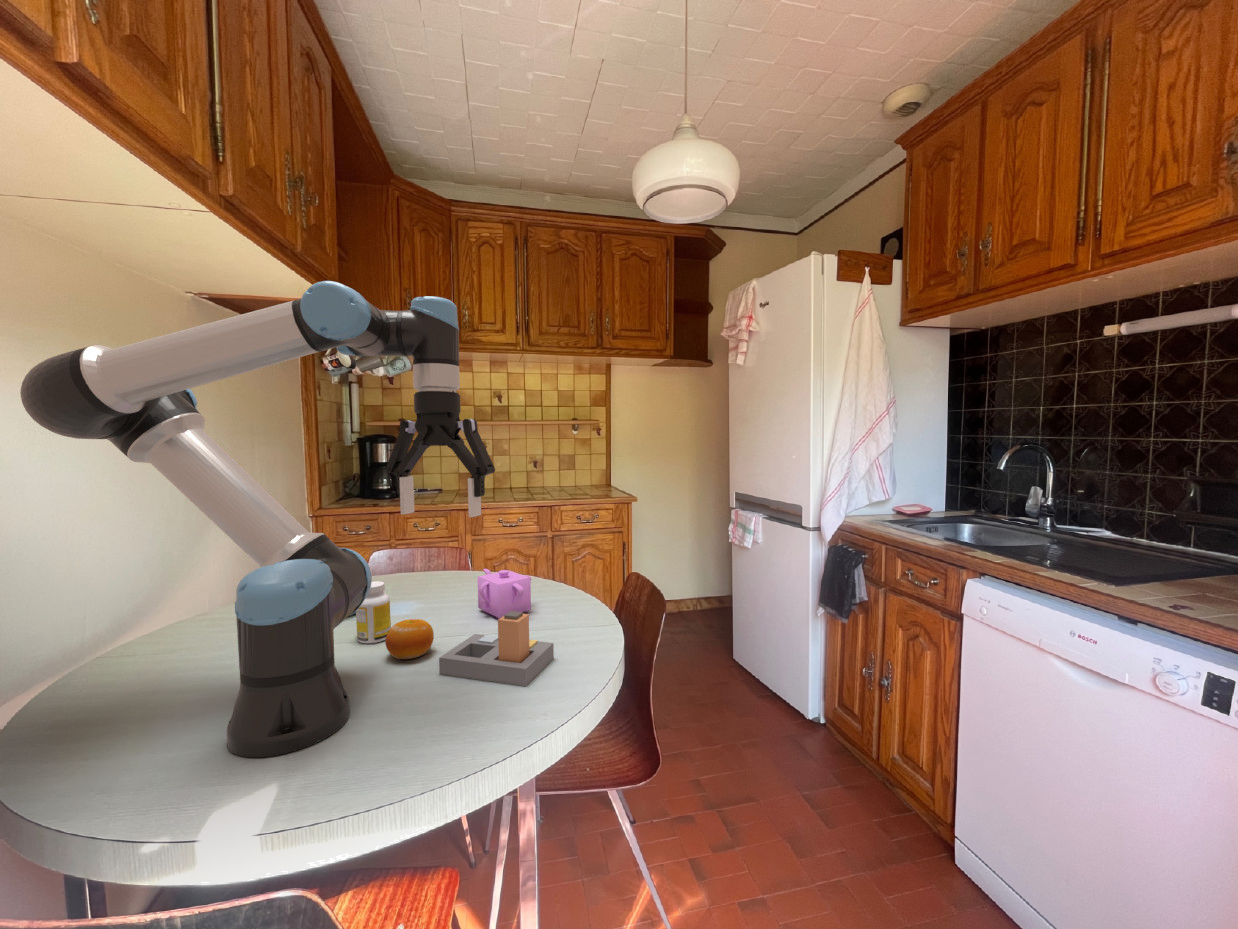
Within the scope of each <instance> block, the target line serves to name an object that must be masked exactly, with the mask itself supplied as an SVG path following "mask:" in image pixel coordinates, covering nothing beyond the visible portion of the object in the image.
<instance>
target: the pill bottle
mask: <svg viewBox="0 0 1238 929" xmlns="http://www.w3.org/2000/svg"><path fill="white" fill-rule="evenodd" d="M371 582H372V583H371V588H370V591H369V593H368V595H367V597H366V599H365V600H364V601H363V603H362V605H361V606H360V607H359V608H358V609H357V610H356V614H355V616H356V617H355V621H356V623H355V624H356V639H357V641H358V642H359V643H362V644H375V643H376V644H377V643H379V642H383V641H385V640H386V636H387V633H388V631H389V630H390V628H391V627H392V625H391V624H392V623H391V620H392V619H391V605H390V604H391V600H390V596H389V594H387V593H385V592H384V591H385V589H386V588H385V582H384V581H379V580H377V581H371Z"/></svg>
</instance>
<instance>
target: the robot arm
mask: <svg viewBox="0 0 1238 929" xmlns="http://www.w3.org/2000/svg"><path fill="white" fill-rule="evenodd" d="M335 348H336V350H337V352H338V353H340V354H342V355H343V356H355V357H360V358H366V357H412V384H413V385H412V386H413V389H414V390H417V392H415V393H414V394H413V405H414V407H413V409H414V410H413V411H414V413H415V415H416V419H415V421H414V420H407V419H401V421H400V422H399V433H398V435H397V438H396V441H395V443H394V445H393V448H392V451H391V454H390V456H389V459H388V461H387V464H386V467H385V472H386V473H387V474H392V475H394V476H395V478H396V479H395V480H396V493H397V495H398V496H399V502H400V503H399V505H400V506H399V507H400V515H407V514H412V513H415V490H414V488H415V487H414V486H415V485H414V475H412V473H411V472H412V471H413V469H414V468H415V466H416V465H417V464H418V462H419V461H420V459H421V457H422V456H423V454H424V453H425V452H426V450H428V448H430V447H434V446H435V447H436V446H437V447H443V446H444V447H448V448H449V449H450V450H451V451H452V452H453V453H454V454H455V455H456V457H457V458H458V459H459V461H460V462H461V464H462V465H463V467H465V469H466V470H467V471H468V472H469V474H470V475H471V476H470V477H469V478H467V498H468V502H467V503H468V504H467V506H468V518H475V517H479V516H481V515H482V497H484V496H485V494H486V489H485V488H486V487H485V485H486V484H485V478H486V476H488V475H491V474H494V473H495V472H496V468H495V465H494V463H493V461H492V458H491V457H490V455H489V452H488V450H487V448H486V446H485V444H484V442H483V439H482V438H481V435H480V433H479V429H478V428H479V427H478V421H477V420H476V419H474V418H473V419H472V418H464V419H463V420H460V419H461V418H460V414H461V410H462V409H461V395H460V393H459V392H457V391H459V390H460V389H461V386H460V384H461V382H460V376H461V375H460V327H459V320H458V308H457V305H456V304H455V303H454V302H453V301H452V300H450V299H449V298H448V299H447V298H445V297H440V296H435V295H434V296H432V295H431V296H429V295H428V296H427V295H426V296H425V295H424V296H417V297H414V298H413V299H412V300H411V302H410V307H409V310H406V309H405V310H385V309H380V308H378V307H377V306H375V305H374V304H372V303H371V302H369V301H368V300H366V299H365V297H364V296H363V295H362V294H360V292H358V291H356V290H355V289H354V288H351V287H349V286H347V285H345V284H343V283H340V282H337V281H332V280H323V281H318V282H316V283H313V284H312V285H310V287H308V289H307V290H305V292H304V293H303V294H302V297H300V298H297V299H295V300H290V301H286V302H283V303H279V304H276V305H272V306H268V307H265V308H261V309H257V310H254V311H250V312H245V313H242V314H238V315H235V316H231V317H227V318H223V319H220V320H216V321H212V322H208V323H204V324H201V325H197V326H193V327H190V328H186V329H182V330H179V331H174V332H170V333H167V334H164V335H160V336H156V337H152V338H149V339H145V340H141V341H138V342H133V343H130V344H126V345H122V346H119V347H115V348H111V347H108V346H106V345H99V344H94V345H91V346H85V347H83V348H79V349H75V350H71V351H67V352H63V353H61V354H57V355H55V356H51V357H49V358H46V359H44V360H43V361H40V362H39V363H37V364H36V365H35V366H33V367H32V368H30V370H29V371H28V372H27V374H26V375H25V376H24V377H23V381H22V382H21V386H20V391H19V392H20V399H21V404H22V406H23V408H24V410H25V411H26V413H27V414H28V415H29V416H30V418H31V419H32V420H33V421H34V422H36V423H37V424H38V425H39V426H40V427H42V428H44V429H46V430H48V431H49V432H51V433H54V434H56V435H59V436H62V437H66V438H71V439H79V440H80V439H81V440H108V441H109V442H111V444H113V445H114V447H116V448H117V449H118V450H119V451H120V452H121V453H123V454H124V456H126V457H127V459H129V460H130V461H132V462H135V463H140V464H141V463H143V464H144V463H146V464H151V465H152V466H153V467H154V468H155V470H157V471H158V472H159V473H160V474H161V475H162V476H163V477H165V479H167V480H168V481H169V482H170V483H171V484H172V485H173V486H174V487H175V488H176V489H177V490H178V491H179V492H180V493H181V494H183V495H184V496H185V497H186V498H187V499H188V500H189V501H190V502H191V503H192V504H193V505H194V506H195V507H196V508H197V509H198V510H199V511H200V512H202V513H203V514H204V515H205V516H206V518H208V519H209V520H210V521H211V522H213V524H214V525H216V526H217V527H218V528H219V529H220V530H221V531H222V532H223V533H224V534H225V535H226V536H227V537H229V538H230V540H232V542H234V543H235V544H236V545H237V546H238V547H239V548H240V549H241V550H242V551H244V552H245V554H247V555H248V556H249V558H251V559H252V560H253V561H254V562H255V563H256V564H257V565H258V566H259V567H258V568H256V569H255V570H252V571H251V572H249V573H247V574H246V575H245V576H243V577H242V578H241V580H240V581H239V582H238V584H237V587H236V593H235V595H236V598H235V599H236V600H235V602H234V612H235V613H234V614H235V617H236V633H237V634H236V635H237V653H238V668H239V690H238V693H237V696H236V698H235V699H236V700H235V703H234V706H233V710H232V714H231V717H230V719H229V721H228V724H227V727H226V744H227V749H228V751H230V752H231V753H233V755H237V756H241V757H246V758H264V757H265V758H266V757H275V756H279V755H284V754H288V753H291V752H295V751H298V750H302V749H304V748H307V747H309V746H312V745H314V744H317V743H318V742H321V741H323V740H325V739H326V738H328V737H330V736H331V735H333V734H335V733H336V732H337V731H339V730H340V729H341V728H342V727H343V726H344V725H345V724H346V723H347V721H348V719H349V717H350V714H351V711H350V710H351V708H350V698H349V695H348V692H347V691H346V690H345V687H344V684H343V682H342V681H343V680H342V679H341V676H340V674H339V672H338V671H337V670H338V669H337V667H336V662H335V639H334V637H335V636H334V635H335V634H334V630H335V628H337V627H338V626H339V625H341V623H343V622H344V621H345V620H346V619H347V618H349V616H353V615H352V614H353V613H354V612H355V611H356V610H357V609H358V608H359V607H360V606H361V605H362V603H363V601H364V600H365V599H366V597H367V595H368V593H369V591H370V588H371V583H372V582H373V581H372V578H373V577H372V576H373V575H372V571H371V568H370V565H369V563H368V562H367V560H366V559H365V558H364V557H363V556H362V554H360V553H359V552H357V551H355V550H354V549H352V548H351V549H350V548H346V547H339V546H338V545H337V544H336V543H335V542H333V540H332V539H330V538H329V537H328V535H326V534H325V533H323V532H310V531H308V530H307V529H306V528H305V527H304V526H303V525H302V524H301V523H300V522H299V521H298V520H297V519H295V517H294V516H293V515H292V514H290V512H288V510H286V508H284V507H283V506H282V505H281V504H280V503H279V502H278V501H277V500H276V499H275V498H274V497H273V496H272V495H271V494H270V493H268V491H266V489H264V487H263V486H261V485H260V484H259V483H258V482H257V480H255V479H254V478H253V477H252V476H251V475H250V474H249V473H248V472H247V471H246V470H245V469H244V468H243V467H242V466H241V465H240V464H239V463H238V462H237V461H235V459H233V457H232V456H230V455H229V453H227V452H226V451H225V450H224V449H223V448H222V447H221V446H220V445H219V444H218V443H217V442H216V441H215V440H214V439H213V438H212V437H211V436H210V435H209V434H208V433H207V432H206V431H205V430H204V429H205V423H206V418H205V417H204V415H203V414H202V413H201V412H200V411H199V410H198V408H197V405H198V401H197V398H196V396H195V394H194V393H193V390H192V389H194V388H197V387H200V386H204V385H208V384H211V383H215V382H218V381H222V380H224V379H229V378H232V377H235V376H239V375H242V374H246V373H251V372H253V371H256V370H261V369H263V368H267V367H270V366H274V365H277V364H282V363H285V362H288V361H292V360H295V359H299V358H302V357H305V356H308V355H312V354H316V353H321V352H324V351H327V350H331V349H335ZM461 431H462V433H463V434H464V436H465V439H466V441H467V443H468V446H469V449H468V447H467V446H466V445H465V441H464V439H463V438H462V437H461V435H460V434H459V433H460V432H461ZM416 432H417V433H418V434H417V435H416V437H415V433H416ZM414 437H415V438H414ZM413 438H414V440H413ZM411 444H412V446H411ZM470 450H471V451H470Z"/></svg>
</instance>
